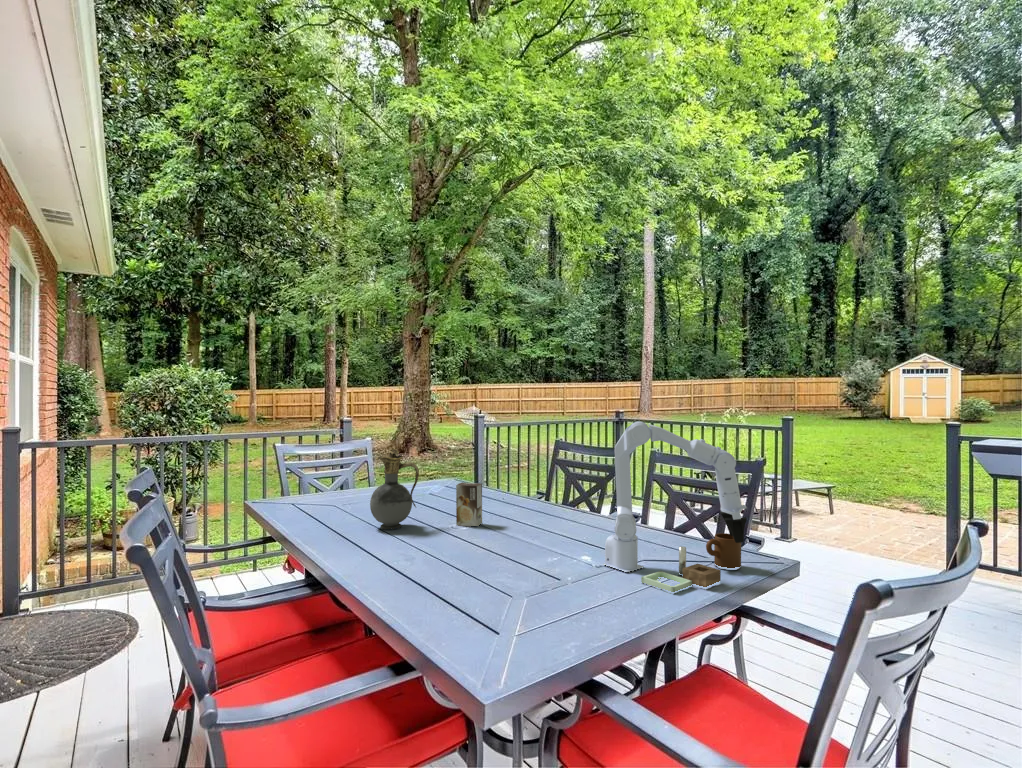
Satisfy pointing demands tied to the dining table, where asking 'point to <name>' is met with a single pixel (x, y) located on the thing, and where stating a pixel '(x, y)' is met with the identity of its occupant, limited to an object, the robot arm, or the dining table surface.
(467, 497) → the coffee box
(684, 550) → the pin
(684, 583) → the tray
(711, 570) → the walnut block
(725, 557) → the mug
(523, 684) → the dining table surface
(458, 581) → the dining table surface
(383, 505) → the pitcher
